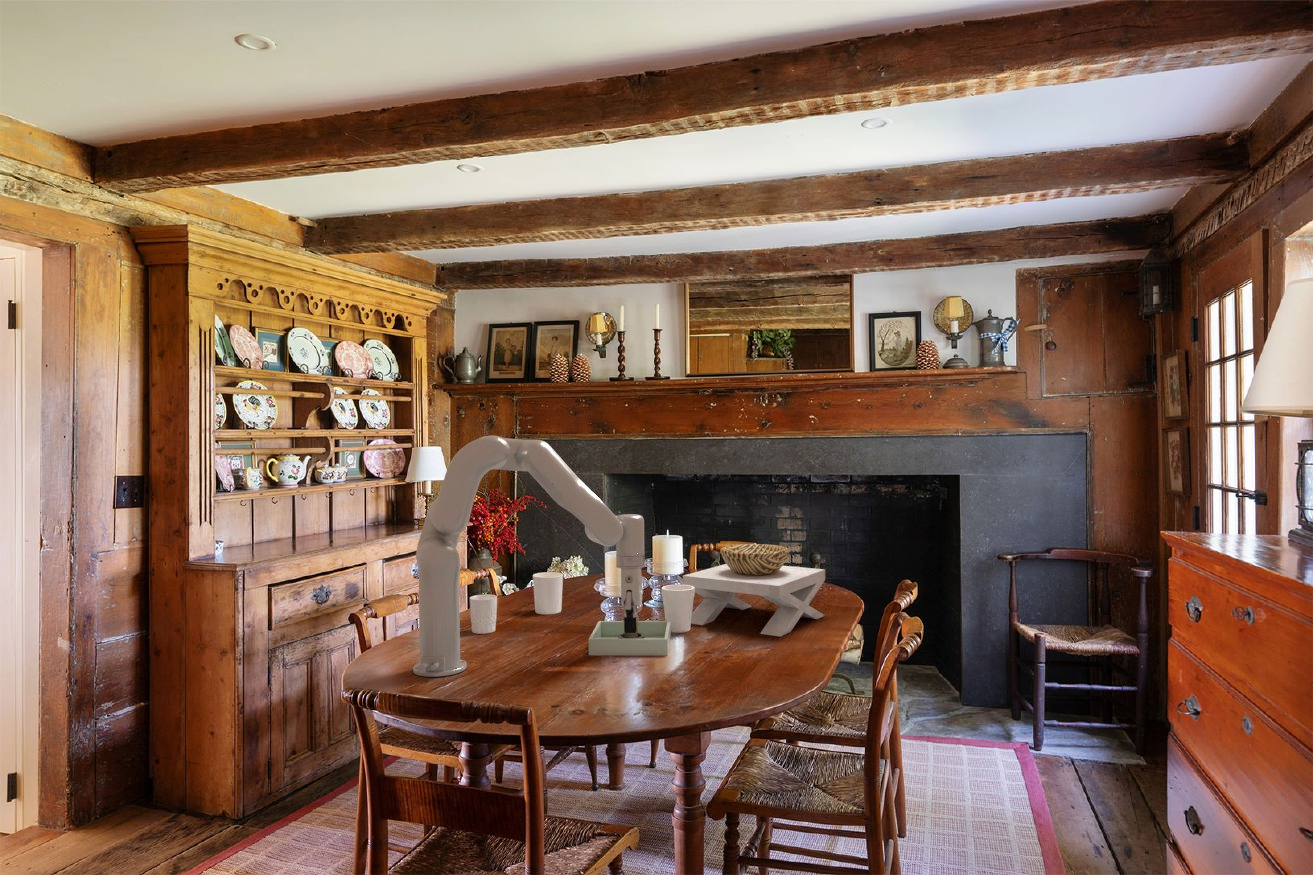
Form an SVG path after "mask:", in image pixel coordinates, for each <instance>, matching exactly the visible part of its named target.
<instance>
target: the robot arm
mask: <svg viewBox="0 0 1313 875" xmlns="http://www.w3.org/2000/svg"><path fill="white" fill-rule="evenodd" d="M492 470H499V471H500V470H501V471H514V472H528V473H529V474H530V475H531V477H533V479H534V480H535V481H537V483H538V484H539V485H540V486H541V487H542V488H543V489H544V490H545V492H546V493H547V494H548V495H549V496H550V497H551V499H552V500H553V501H554V502H555V503H556V504H557V505H558V506H560V507H561V508H563V509H565V511H568V512H569V513H570V514H571V515H573V516H574V517H575V518H576V519H578V520H579V521H580V522H581V524H583V525H584V532H585V535H586V536H587V538H588V539H589V540H591V541H592V542H594V543H597V544H599V545H601V546H603V547H604V546H605V547H614V546H615V554H616V556H615V561H616V562H615V564H616V565H615V566H616V568H617V569H620V596H621V599H620V600H621V606H622V607H624V606H625V617H624V616H623V621H624V632H625V633H636V631H637V628H636V617H635V605H637V607H640V605H641V604H642V602H643V580H642V576H643V575H642V569H643V568H645V565H646V564H645V519H644V517H643V515H641V514H635V513H634V514H633V513H631V514H630V513H628V514H627V513H626V514H620V515H616V514H615V513H613V511H611V509H610V507H608V506H607V505H606V504H605V503H604V502H603V500H601V498H600V497H598V496H597V495H596V494H595V493H594V491H592V490H591V489H590V487H589V486H587V485H586V484H585V482H584V481H583V480H582V479H580V478H579V477H578V475H577V474H575V472H574V471H573V470H572V469H571V468H570V467H569V466H568V464H567V463H566V462H565V461H564V460H563V459H562V457H561V456H560V455H559V454H558V453H557V452H556V451H555V450H554V448H552V446H551V445H550V444H549V443H548V442H546V441H544V440H541V439H520V438H509V437H507V438H506V437H502V436H498V435H484V436H482V437H479V438H477V439H474V440H472V441H470V442H468V443H467V444H465V445H463V447H461V448H460V449H459V450H458V451H457V452H456V453H455V455H454V456H453V457H452V459H451V461H450V463H449V464H448V466H447V470H446V471H445V475H444V478H443V480H442V483H441V487H440V490H439V494H438V496H437V498H435V499H434V500H433V501H432V502H431V504H430V505H429V507H428V509H427V513H426V516H425V519H424V522H423V526H422V529H421V532H420V537H419V540H418V543H417V546H416V547H417V548H416V551H415V552H416V553H415V559H416V563H417V565H418V614H419V615H418V623H419V625H418V627H419V628H418V632H419V636H418V637H419V662H418V663H415V664H414V666H413V667H412V672H413V674H415V675H416V676H419V677H427V678H429V677H430V678H432V677H433V678H434V677H435V678H437V677H446V676H451V675H452V676H453V675H456V674H459V673H461V672H463V671H466V669H467V665H468V664H467V661H466V660H463V659H461V634H460V633H461V630H460V628H461V627H460V626H461V624H460V621H461V620H460V617H461V616H460V579H461V578H460V577H461V576H460V575H461V558H460V555H459V554H460V553H459V552H458V549H457V547H458V543H459V539H460V535H461V533H462V532H464V530H466V528H467V526H468V525H469V523H470V519H471V516H472V515H471V514H472V510H473V507H474V503H475V499H476V495H477V492H478V490H479V486H480V483H481V481H482V479H483V478H484V476H485V475H486V474H487V473H488V472H489V471H492ZM637 553H638V554H637ZM624 601H625V602H624ZM631 603H634V605H631ZM631 608H633V609H631Z"/></svg>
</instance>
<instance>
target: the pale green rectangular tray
mask: <svg viewBox="0 0 1313 875" xmlns="http://www.w3.org/2000/svg"><path fill="white" fill-rule="evenodd" d="M622 633H624V620H599V621H597V623H596V625H595V626H594V628H593V631H592V633H591V634H590V636H589V638H588V656H668V655H669V649H670V643H671V636H672V632H671V622H670V621H666V620H660V621H659V620H638V633H643V634H645V639H618V635H619V634H622Z"/></svg>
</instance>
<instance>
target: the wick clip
mask: <svg viewBox="0 0 1313 875" xmlns="http://www.w3.org/2000/svg"><path fill="white" fill-rule="evenodd" d="M618 639H645V634H643V633H638V637H637V638H624V633H622V634H619V635H618Z"/></svg>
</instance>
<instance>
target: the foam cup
mask: <svg viewBox="0 0 1313 875" xmlns="http://www.w3.org/2000/svg"><path fill="white" fill-rule="evenodd" d="M695 594H696V593H695V587H693V586H690V585H683V584H668V585H664V586H662V587H661V598H662V603H663V611H664V618H665V621H670V622H671V633H677V634H678V633H687V632H689V631H691V626H692V625H691V617H692V613H693V607H694V599H695Z"/></svg>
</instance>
